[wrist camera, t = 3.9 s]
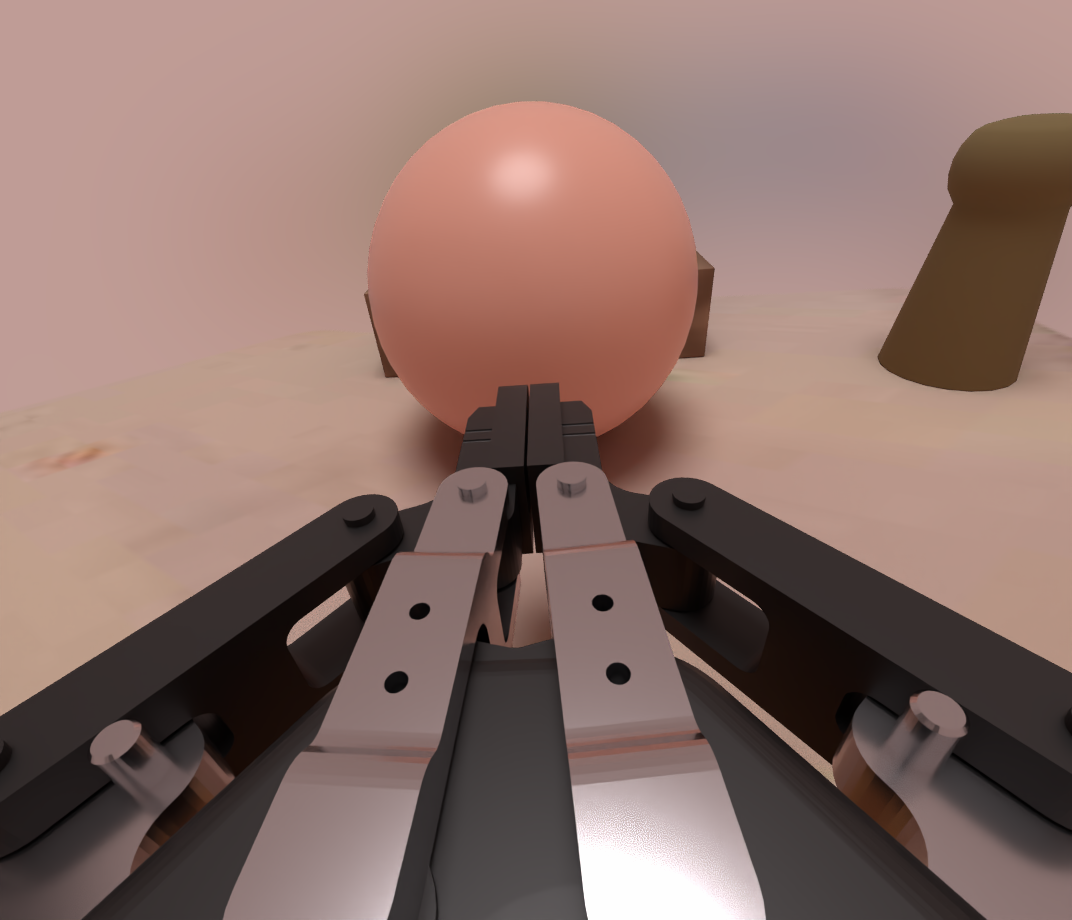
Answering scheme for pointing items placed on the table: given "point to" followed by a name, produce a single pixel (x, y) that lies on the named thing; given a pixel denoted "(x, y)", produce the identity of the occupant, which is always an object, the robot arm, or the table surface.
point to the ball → (532, 264)
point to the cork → (987, 258)
